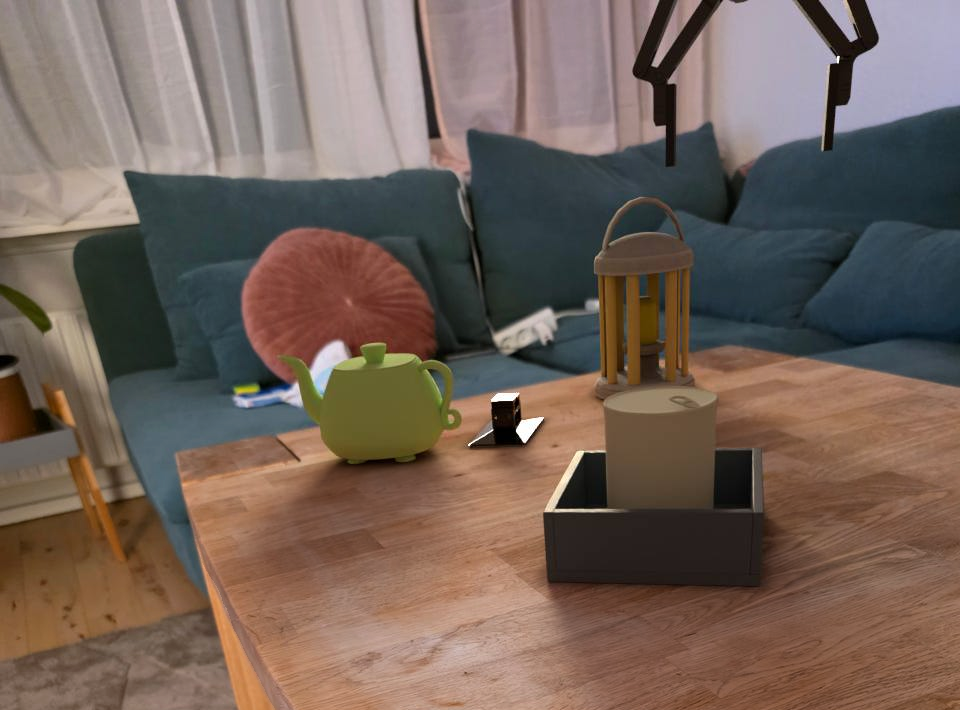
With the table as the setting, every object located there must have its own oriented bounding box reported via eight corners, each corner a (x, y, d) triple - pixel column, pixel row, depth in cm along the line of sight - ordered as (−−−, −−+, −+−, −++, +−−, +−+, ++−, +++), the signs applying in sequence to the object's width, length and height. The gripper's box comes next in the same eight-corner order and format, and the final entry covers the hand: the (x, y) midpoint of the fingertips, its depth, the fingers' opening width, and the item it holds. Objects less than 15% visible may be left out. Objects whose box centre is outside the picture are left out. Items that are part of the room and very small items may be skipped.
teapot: (275, 474, 108) (252, 363, 101) (317, 439, 120) (299, 339, 114) (451, 468, 103) (438, 351, 97) (476, 432, 116) (466, 327, 110)
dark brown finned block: (524, 446, 108) (521, 408, 106) (467, 448, 110) (463, 410, 108) (544, 419, 119) (541, 383, 117) (491, 420, 121) (488, 386, 119)
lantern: (680, 374, 134) (682, 190, 123) (707, 395, 122) (712, 192, 110) (586, 385, 134) (580, 201, 123) (604, 406, 122) (598, 204, 110)
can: (657, 563, 71) (657, 413, 66) (584, 534, 78) (578, 396, 73) (737, 531, 75) (744, 389, 70) (661, 507, 82) (661, 375, 77)
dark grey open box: (758, 510, 82) (761, 447, 79) (760, 586, 68) (764, 512, 65) (579, 510, 87) (577, 450, 84) (547, 581, 73) (542, 512, 70)
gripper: (922, -160, 71) (890, 143, 81) (609, -103, 78) (614, 171, 87) (939, -190, 65) (902, 143, 74) (596, -124, 71) (604, 173, 81)
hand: (747, 159), depth 81 cm, fingers open, 13 cm apart
